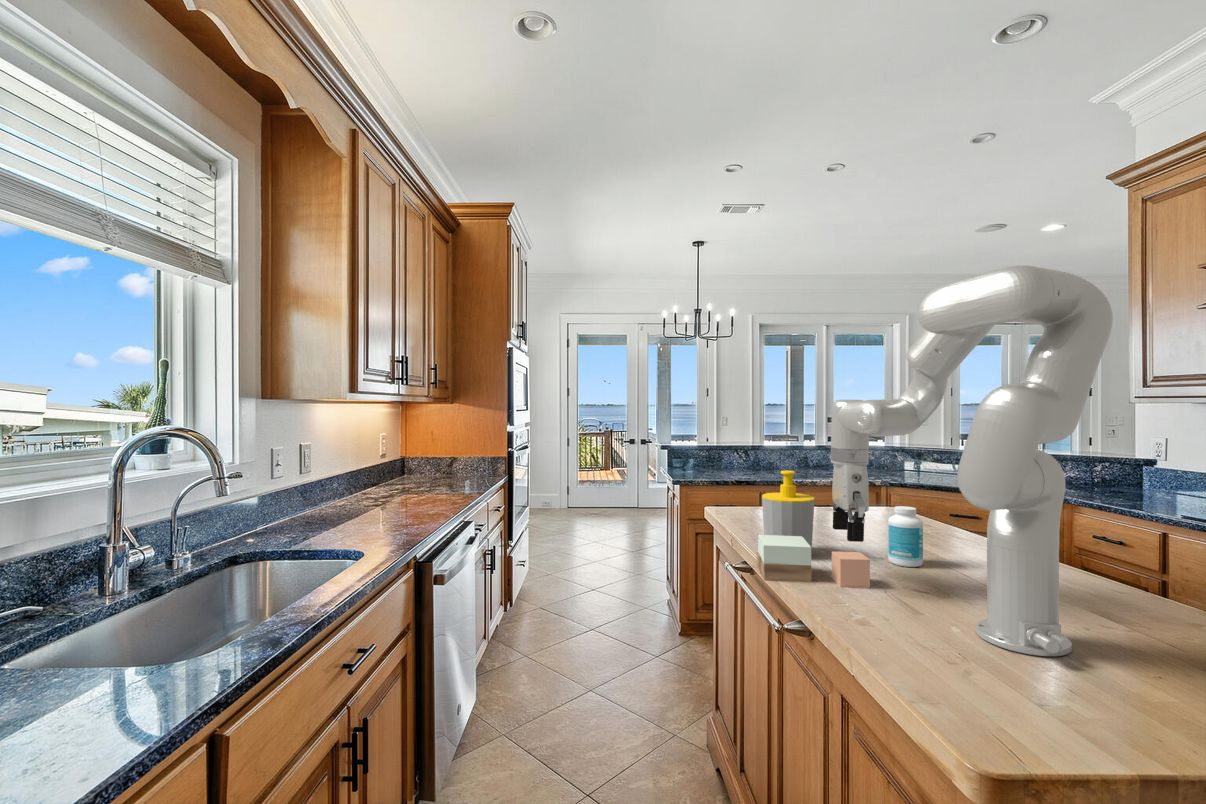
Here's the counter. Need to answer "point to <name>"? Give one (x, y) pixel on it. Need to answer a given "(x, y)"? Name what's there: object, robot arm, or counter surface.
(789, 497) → the soap bottle
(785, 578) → the tower base
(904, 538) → the pill bottle
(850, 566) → the cube
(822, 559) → the counter surface
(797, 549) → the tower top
